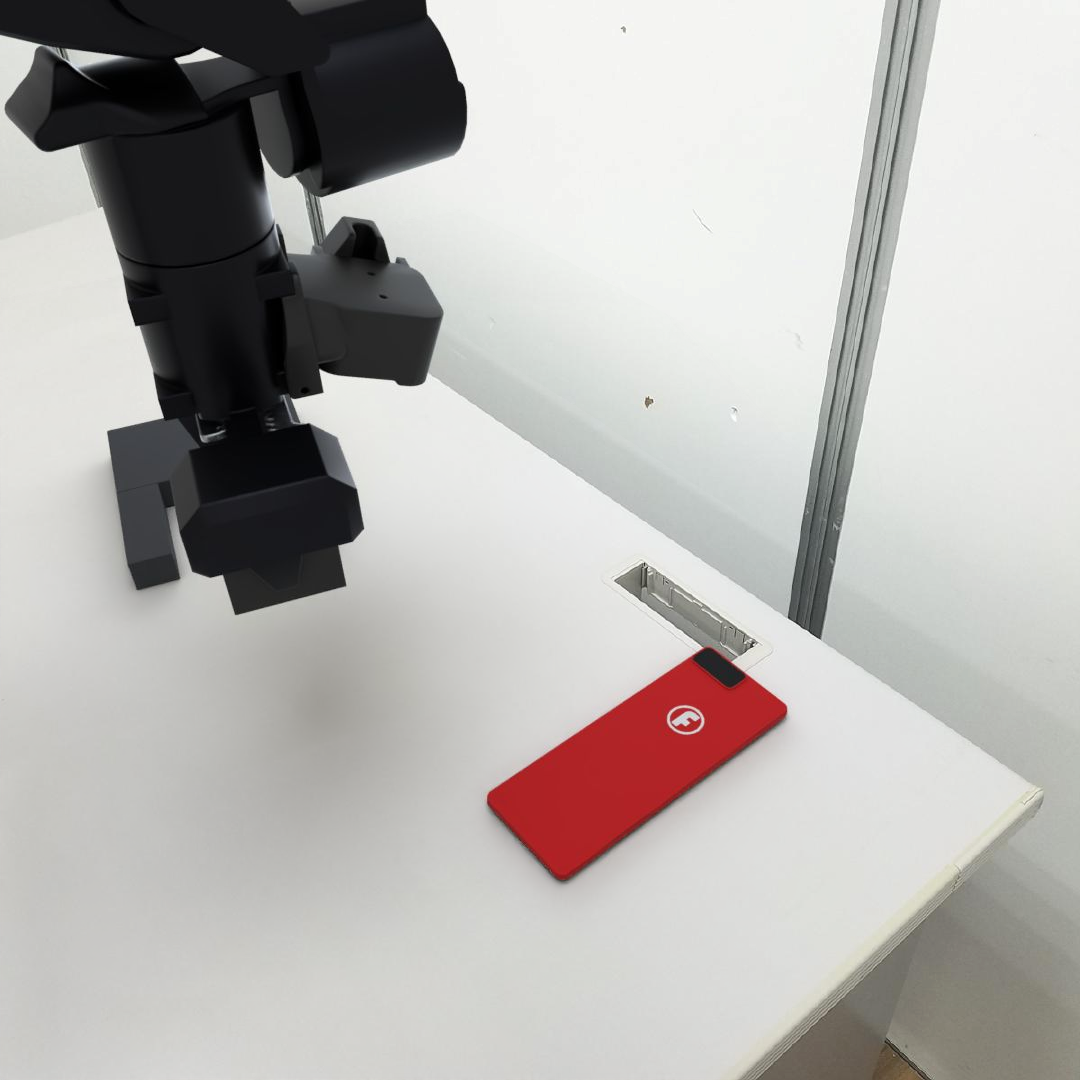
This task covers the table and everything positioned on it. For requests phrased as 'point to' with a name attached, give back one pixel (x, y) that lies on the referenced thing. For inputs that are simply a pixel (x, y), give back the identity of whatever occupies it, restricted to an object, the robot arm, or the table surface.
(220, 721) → the table surface
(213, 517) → the robot arm
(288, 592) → the black block
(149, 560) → the dark gray pronged block
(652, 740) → the electronic device
